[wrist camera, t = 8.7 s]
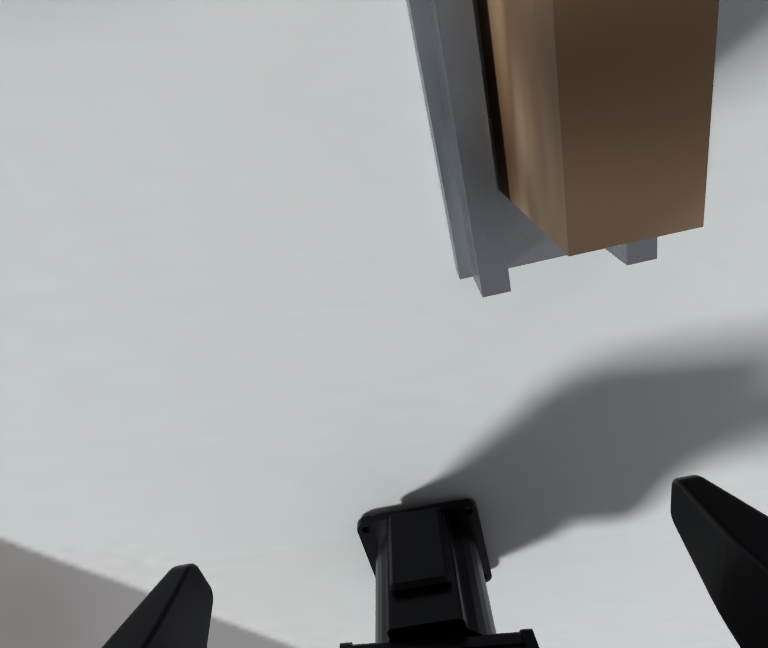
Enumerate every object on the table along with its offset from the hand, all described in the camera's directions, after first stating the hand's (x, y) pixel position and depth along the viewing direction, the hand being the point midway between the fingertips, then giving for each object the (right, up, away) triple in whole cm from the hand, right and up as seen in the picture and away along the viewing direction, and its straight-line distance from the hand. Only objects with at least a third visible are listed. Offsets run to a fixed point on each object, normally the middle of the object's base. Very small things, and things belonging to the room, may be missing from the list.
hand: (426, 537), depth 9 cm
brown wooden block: (+4, +12, +6) cm, 15 cm away
